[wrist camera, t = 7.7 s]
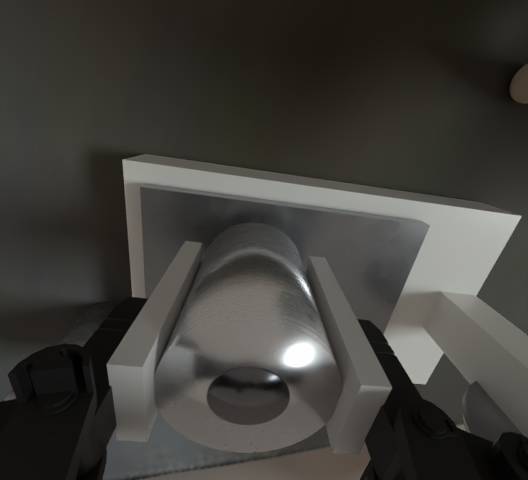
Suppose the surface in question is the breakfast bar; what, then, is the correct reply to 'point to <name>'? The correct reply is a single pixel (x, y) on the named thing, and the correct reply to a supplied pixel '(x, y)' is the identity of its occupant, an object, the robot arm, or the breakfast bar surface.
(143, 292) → the scale
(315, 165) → the breakfast bar surface
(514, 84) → the planter
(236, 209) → the pan
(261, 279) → the spacer
